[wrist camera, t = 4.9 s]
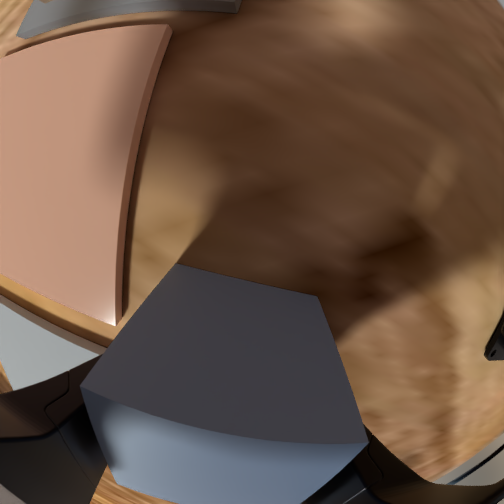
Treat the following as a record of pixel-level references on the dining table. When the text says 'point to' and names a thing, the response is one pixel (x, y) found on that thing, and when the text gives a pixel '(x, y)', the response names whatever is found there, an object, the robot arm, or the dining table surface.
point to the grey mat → (38, 347)
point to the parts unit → (106, 11)
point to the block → (224, 394)
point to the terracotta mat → (73, 161)
